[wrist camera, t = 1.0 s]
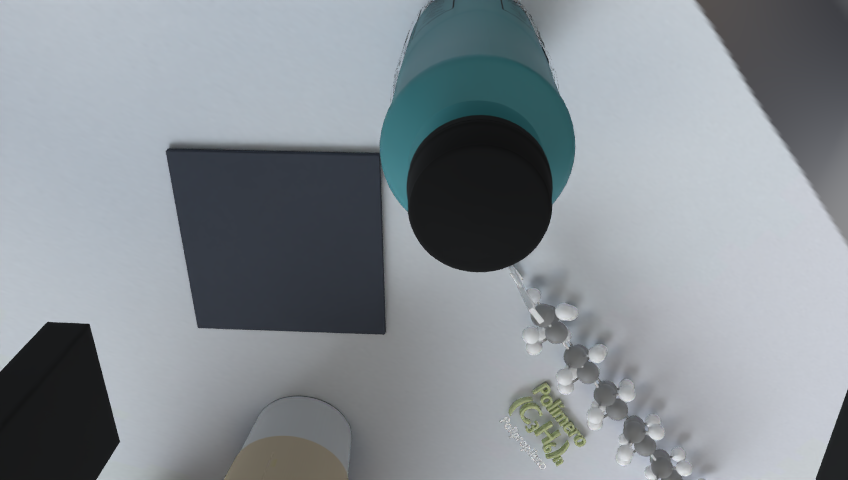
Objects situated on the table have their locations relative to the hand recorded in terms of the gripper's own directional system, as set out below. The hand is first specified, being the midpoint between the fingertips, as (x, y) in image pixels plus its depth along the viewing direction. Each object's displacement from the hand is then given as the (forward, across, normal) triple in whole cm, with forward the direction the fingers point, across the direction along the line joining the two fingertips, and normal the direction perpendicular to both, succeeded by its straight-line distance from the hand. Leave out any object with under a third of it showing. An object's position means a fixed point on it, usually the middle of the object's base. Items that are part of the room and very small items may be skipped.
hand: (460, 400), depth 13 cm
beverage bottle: (+27, 0, 0) cm, 27 cm away
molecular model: (+27, +8, -23) cm, 37 cm away
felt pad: (+27, -11, -12) cm, 31 cm away
